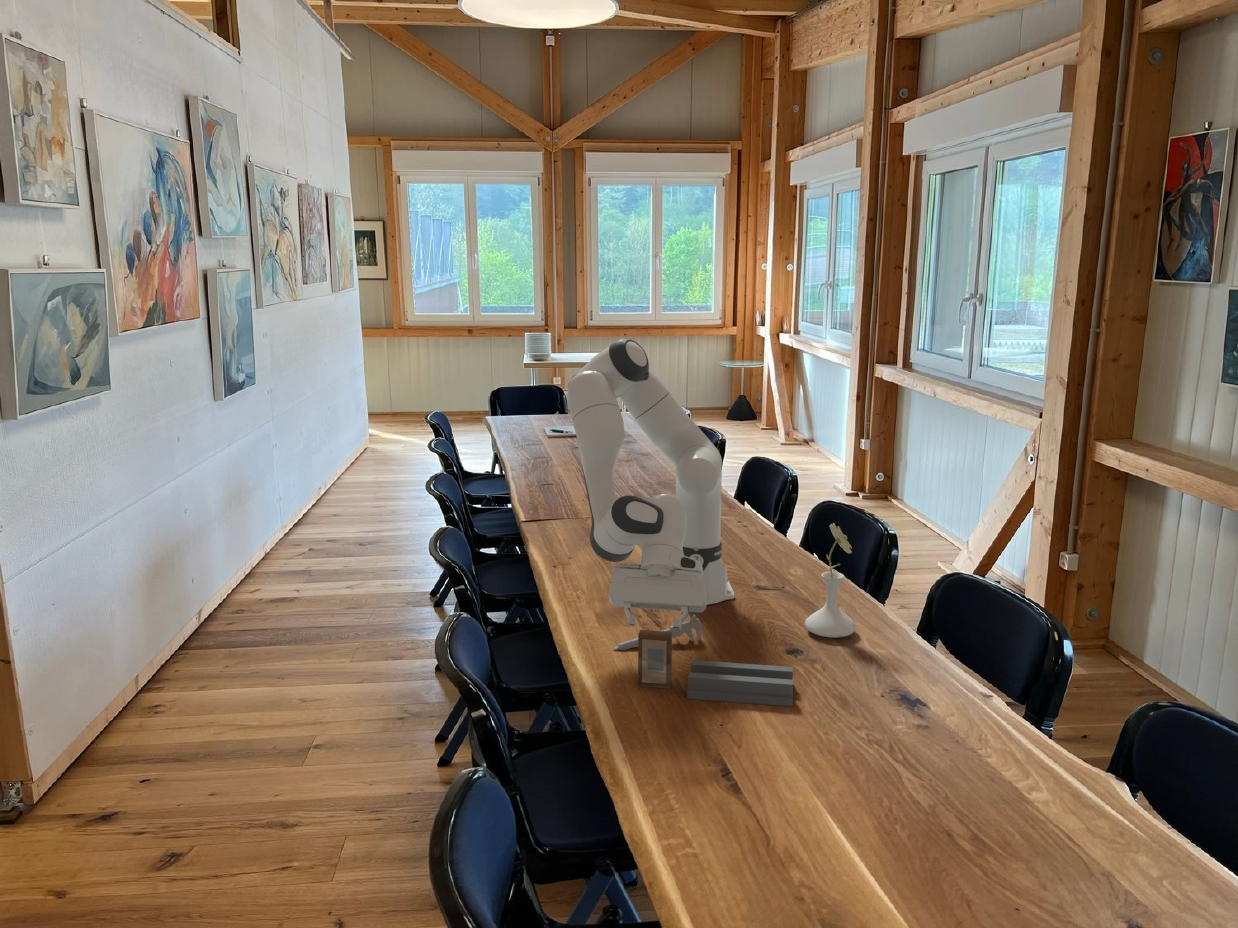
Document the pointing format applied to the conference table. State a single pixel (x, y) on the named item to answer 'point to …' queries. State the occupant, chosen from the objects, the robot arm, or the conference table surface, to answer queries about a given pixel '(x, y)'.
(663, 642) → the wooden picture frame
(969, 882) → the conference table surface
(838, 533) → the flower in vase
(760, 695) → the picture ledge
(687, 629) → the caliper
